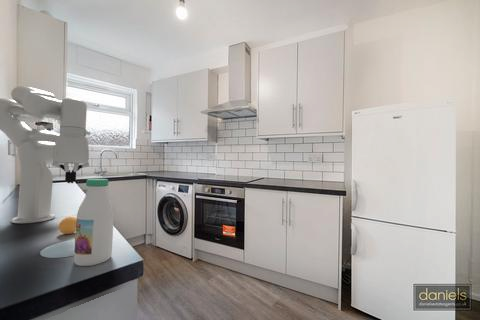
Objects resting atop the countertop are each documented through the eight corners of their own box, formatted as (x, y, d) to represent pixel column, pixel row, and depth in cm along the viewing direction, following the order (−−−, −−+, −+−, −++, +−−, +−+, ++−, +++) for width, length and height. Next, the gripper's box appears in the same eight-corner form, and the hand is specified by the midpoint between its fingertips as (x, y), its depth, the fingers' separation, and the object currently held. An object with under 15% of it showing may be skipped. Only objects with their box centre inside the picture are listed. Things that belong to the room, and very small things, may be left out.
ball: (57, 233, 71) (58, 216, 71) (78, 230, 75) (79, 214, 75) (58, 237, 67) (59, 219, 67) (80, 234, 70) (81, 217, 71)
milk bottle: (107, 251, 58) (111, 177, 59) (115, 260, 53) (119, 179, 53) (71, 258, 53) (76, 178, 53) (76, 270, 47) (81, 180, 48)
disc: (41, 245, 60) (41, 245, 60) (96, 236, 69) (96, 236, 69) (39, 262, 50) (39, 261, 50) (103, 249, 59) (103, 249, 59)
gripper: (95, 136, 87) (93, 181, 86) (45, 131, 77) (42, 182, 76) (98, 134, 81) (96, 183, 80) (45, 129, 71) (42, 184, 70)
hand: (70, 182), depth 78 cm, fingers closed
